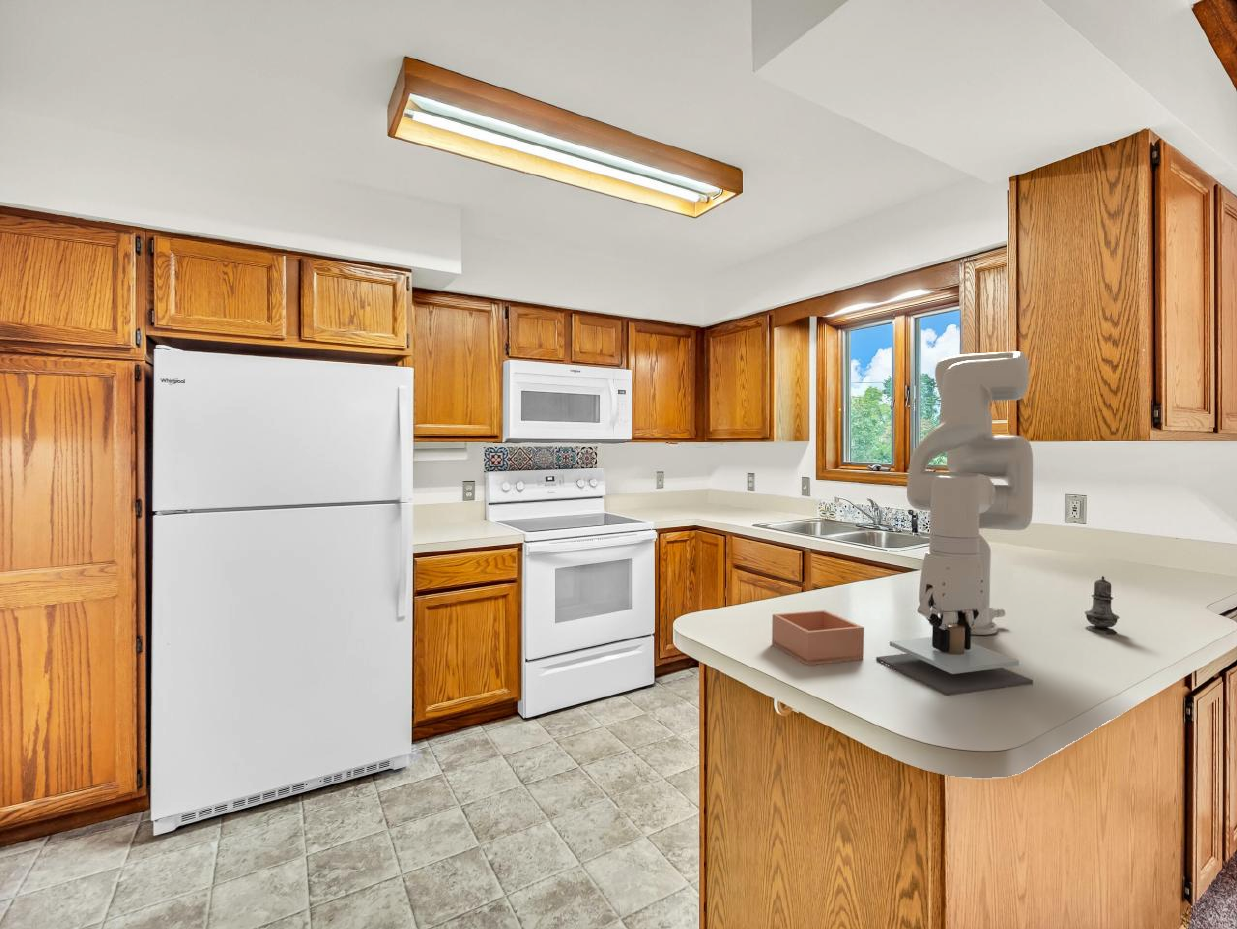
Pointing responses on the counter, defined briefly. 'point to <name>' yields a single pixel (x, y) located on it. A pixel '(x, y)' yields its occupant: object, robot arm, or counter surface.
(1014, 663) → the lid
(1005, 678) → the mat
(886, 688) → the counter surface
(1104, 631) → the salt shaker
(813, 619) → the open storage tray
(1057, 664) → the counter surface
